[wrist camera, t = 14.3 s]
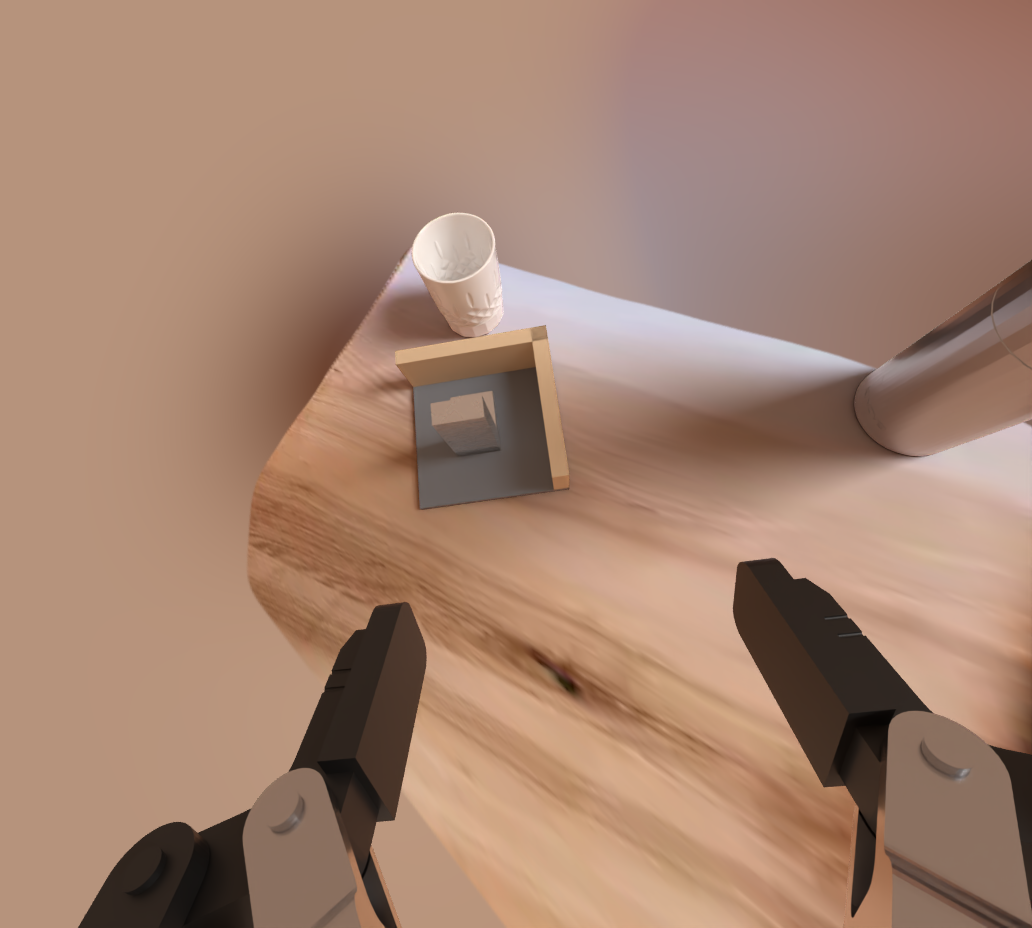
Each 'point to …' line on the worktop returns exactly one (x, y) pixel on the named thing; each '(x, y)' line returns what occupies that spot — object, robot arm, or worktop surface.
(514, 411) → the corner tray
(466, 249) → the white cup
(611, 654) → the worktop surface
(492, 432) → the bracket
